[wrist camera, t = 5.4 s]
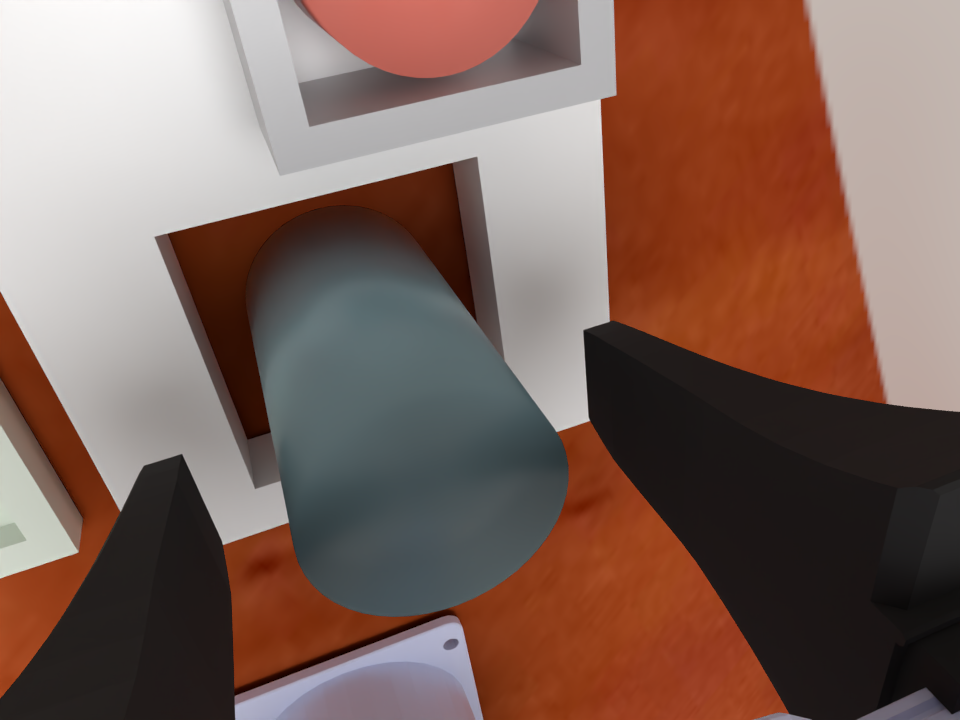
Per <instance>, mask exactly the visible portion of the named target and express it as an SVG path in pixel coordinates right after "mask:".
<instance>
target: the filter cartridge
mask: <svg viewBox="0 0 960 720" xmlns="http://www.w3.org/2000/svg"><path fill="white" fill-rule="evenodd" d="M245 300H246V309H247V314H248V319H249V324H250V329H251V334H252V339H253V344H254V349H255V354H256V359H257V364H258V369H259V374H260V379H261V385H262V390H263V395H264V400H265V405H266V410H267V415H268V420H269V425H270V430H271V435H272V440H273V445H274V450H275V455H276V460H277V465H278V470H279V475H280V480H281V485H282V490H283V495H284V500H285V505H286V510H287V515H288V520H289V525H290V530H291V535H292V540H293V545H294V550H295V553H296V557H297V560H298V563H299V565H300V567H301V569H302V571H303V573H304V574H305V576H306V577H307V578H308V580H309V581H310V582H311V584H312V585H313V586H314V587H315V588H316V589H317V590H318V591H319V592H321V593H322V594H323V595H324V596H326V597H327V598H329V599H330V600H332V601H333V602H335V603H337V604H339V605H341V606H343V607H346V608H348V609H351V610H354V611H357V612H361V613H365V614H371V615H376V616H390V617H399V616H414V615H421V614H427V613H432V612H436V611H440V610H444V609H447V608H450V607H453V606H456V605H459V604H461V603H464V602H466V601H468V600H471V599H473V598H475V597H477V596H479V595H481V594H483V593H485V592H487V591H488V590H490V589H492V588H493V587H495V586H496V585H498V584H500V583H501V582H503V581H504V580H505V579H507V578H508V577H509V576H511V575H512V574H513V573H514V572H516V571H517V570H518V569H519V568H520V567H521V566H522V565H523V564H525V563H526V562H527V561H528V560H529V559H530V558H531V557H532V555H533V554H534V553H535V552H536V551H537V550H538V549H539V548H540V546H541V545H542V544H543V542H544V541H545V539H546V538H547V537H548V535H549V534H550V532H551V530H552V529H553V527H554V525H555V523H556V522H557V519H558V517H559V515H560V512H561V510H562V508H563V504H564V501H565V497H566V494H567V487H568V462H567V456H566V452H565V449H564V446H563V443H562V441H561V439H560V437H559V436H558V434H557V432H556V430H555V429H554V427H553V426H552V425H551V423H550V422H549V421H548V419H547V418H546V416H545V415H544V414H543V412H542V411H541V410H540V408H539V407H538V406H537V404H536V403H535V402H534V400H533V399H532V397H531V396H530V395H529V393H528V392H527V391H526V389H525V388H524V387H523V385H522V384H521V382H520V381H519V380H518V378H517V377H516V376H515V374H514V373H513V372H512V370H511V369H510V368H509V366H508V365H507V363H506V362H505V361H504V359H503V358H502V357H501V355H500V354H499V353H498V351H497V350H496V349H495V347H494V346H493V344H492V343H491V342H490V340H489V339H488V338H487V336H486V335H485V334H484V332H483V331H482V329H481V328H480V327H479V325H478V324H477V323H476V321H475V320H474V319H473V317H472V316H471V315H470V313H469V312H468V310H467V309H466V308H465V306H464V305H463V304H462V302H461V301H460V300H459V298H458V297H457V296H456V294H455V293H454V291H453V290H452V289H451V287H450V286H449V285H448V283H447V282H446V281H445V279H444V278H443V276H442V275H441V274H440V272H439V271H438V270H437V268H436V267H435V266H434V264H433V263H432V262H431V260H430V259H429V257H428V256H427V255H426V253H425V252H424V251H423V249H422V248H421V247H420V245H419V244H418V243H417V241H416V240H415V239H414V237H413V236H412V235H411V234H410V233H409V232H408V231H407V230H406V229H405V228H404V227H403V226H402V225H401V224H399V223H398V222H396V221H395V220H393V219H392V218H390V217H388V216H386V215H384V214H382V213H380V212H377V211H374V210H371V209H368V208H363V207H358V206H345V205H344V206H330V207H325V208H319V209H316V210H313V211H310V212H306V213H304V214H302V215H300V216H298V217H296V218H294V219H292V220H291V221H289V222H287V223H286V224H284V225H283V226H282V227H280V228H279V229H278V230H277V231H276V232H274V233H273V234H272V235H271V236H270V237H269V239H268V240H267V241H266V242H265V243H264V244H263V246H262V247H261V249H260V250H259V251H258V253H257V255H256V257H255V259H254V261H253V263H252V265H251V268H250V271H249V274H248V278H247V283H246V294H245Z"/></svg>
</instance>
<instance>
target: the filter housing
mask: <svg viewBox="0 0 960 720" xmlns="http://www.w3.org/2000/svg"><path fill="white" fill-rule="evenodd" d="M615 95H616V68H615V34H614V1H613V0H539V1H538V3H537V5H536V6H535V8H534V10H533V12H532V13H531V15H530V17H529V18H528V20H527V21H526V23H525V24H524V25H523V27H522V28H521V29H520V31H519V32H518V33H517V34H516V35H515V36H514V37H513V38H512V40H511V41H510V42H509V43H508V44H507V45H506V46H504V47H503V48H502V49H501V50H500V51H498V52H497V53H496V54H495V55H494V56H492V57H490V58H489V59H487V60H486V61H484V62H482V63H481V64H479V65H477V66H475V67H472V68H470V69H468V70H466V71H463V72H460V73H456V74H453V75H450V76H443V77H436V78H414V77H407V76H400V75H397V74H393V73H390V72H386V71H384V70H381V69H379V68H377V67H374V66H372V65H370V64H368V63H367V62H365V61H363V60H362V59H360V58H358V57H357V56H355V55H354V54H352V53H351V52H350V51H349V50H347V49H346V48H345V47H344V46H343V45H341V44H340V43H339V42H338V41H336V40H335V39H334V38H333V37H332V36H330V35H329V34H328V33H327V32H326V31H324V30H323V29H322V28H321V27H319V26H318V25H317V24H316V23H315V22H313V21H312V20H311V19H310V18H309V17H308V16H307V15H306V14H305V13H304V12H303V11H302V10H301V9H300V8H299V7H298V6H297V4H296V3H295V2H294V0H0V292H1V294H2V295H3V297H4V299H5V301H6V303H7V305H8V306H9V308H10V310H11V312H12V314H13V316H14V317H15V319H16V321H17V323H18V325H19V327H20V328H21V330H22V332H23V334H24V336H25V338H26V339H27V341H28V343H29V345H30V347H31V349H32V350H33V352H34V354H35V356H36V358H37V360H38V361H39V363H40V365H41V367H42V369H43V371H44V372H45V374H46V376H47V378H48V380H49V382H50V383H51V385H52V387H53V389H54V391H55V392H56V394H57V396H58V398H59V400H60V402H61V403H62V405H63V407H64V409H65V411H66V413H67V414H68V416H69V418H70V420H71V422H72V424H73V425H74V427H75V429H76V431H77V433H78V435H79V436H80V438H81V440H82V442H83V444H84V446H85V447H86V449H87V451H88V453H89V455H90V457H91V458H92V460H93V462H94V464H95V466H96V468H97V469H98V471H99V473H100V475H101V477H102V479H103V480H104V482H105V484H106V486H107V488H108V490H109V491H110V493H111V495H112V497H113V499H114V501H115V502H116V504H117V506H118V508H119V510H120V512H121V510H122V508H123V506H124V504H125V502H126V500H127V498H128V496H129V493H130V491H131V489H132V487H133V485H134V483H135V481H136V479H137V477H138V475H139V473H140V471H141V470H142V468H143V466H144V465H148V464H151V463H154V462H157V461H161V460H164V459H167V458H170V457H174V456H177V455H180V454H182V455H183V457H184V459H185V461H186V463H187V466H188V468H189V470H190V472H191V474H192V477H193V479H194V481H195V483H196V485H197V487H198V490H199V492H200V494H201V496H202V498H203V501H204V503H205V505H206V507H207V509H208V511H209V514H210V516H211V518H212V520H213V522H214V525H215V527H216V529H217V531H218V533H219V536H220V538H221V540H222V544H223V545H224V544H227V543H230V542H233V541H236V540H239V539H242V538H245V537H248V536H251V535H254V534H257V533H259V532H262V531H265V530H268V529H271V528H274V527H277V526H280V525H283V524H286V523H289V520H288V515H287V510H286V505H285V500H284V495H283V490H282V485H281V480H280V475H279V470H278V465H277V460H276V455H275V450H274V445H273V440H272V435H271V433H268V434H264V435H261V436H258V437H255V438H252V439H248V440H247V437H246V434H245V432H244V429H243V427H242V424H241V422H240V419H239V416H238V414H237V411H236V409H235V406H234V404H233V401H232V398H231V396H230V393H229V391H228V388H227V386H226V383H225V380H224V378H223V375H222V373H221V370H220V368H219V365H218V362H217V360H216V357H215V355H214V352H213V350H212V347H211V344H210V342H209V339H208V337H207V334H206V331H205V329H204V326H203V324H202V321H201V319H200V316H199V313H198V311H197V308H196V306H195V303H194V301H193V298H192V295H191V293H190V290H189V288H188V285H187V283H186V280H185V277H184V275H183V272H182V270H181V267H180V265H179V262H178V259H177V257H176V254H175V252H174V249H173V247H172V244H171V241H170V239H169V236H168V234H167V233H171V232H175V231H179V230H183V229H187V228H191V227H195V226H199V225H203V224H207V223H212V222H216V221H220V220H224V219H228V218H232V217H236V216H240V215H244V214H248V213H252V212H256V211H260V210H264V209H268V208H272V207H276V206H280V205H284V204H288V203H292V202H296V201H300V200H304V199H308V198H312V197H316V196H320V195H324V194H328V193H332V192H336V191H340V190H344V189H348V188H353V187H357V186H361V185H365V184H369V183H373V182H377V181H381V180H385V179H389V178H393V177H397V176H401V175H405V174H409V173H413V172H417V171H421V170H425V169H429V168H433V167H437V166H441V165H445V164H449V163H453V170H454V176H455V183H456V189H457V196H458V202H459V208H460V215H461V221H462V228H463V234H464V241H465V247H466V254H467V260H468V267H469V273H470V280H471V286H472V293H473V299H474V306H475V312H476V319H477V324H478V325H479V327H480V328H481V329H482V331H483V332H484V334H485V335H486V336H487V338H488V339H489V340H490V342H491V343H492V344H493V346H494V347H495V349H496V350H497V351H498V353H499V354H500V355H501V357H502V358H503V359H504V361H505V362H506V363H507V365H508V366H509V368H510V369H511V370H512V372H513V373H514V374H515V376H516V377H517V378H518V380H519V381H520V382H521V384H522V385H523V387H524V388H525V389H526V391H527V392H528V393H529V395H530V396H531V397H532V399H533V400H534V402H535V403H536V404H537V406H538V407H539V408H540V410H541V411H542V412H543V414H544V415H545V416H546V418H547V419H548V421H549V422H550V423H551V425H552V426H553V427H554V429H555V430H556V432H558V431H561V430H564V429H567V428H570V427H573V426H576V425H579V424H582V423H585V422H588V421H590V419H589V416H588V400H587V384H586V368H585V352H584V336H583V330H585V329H588V328H591V327H594V326H598V325H601V324H604V323H607V322H610V319H609V295H608V271H607V247H606V223H605V199H604V175H603V151H602V127H601V103H600V99H603V98H607V97H611V96H615Z"/></svg>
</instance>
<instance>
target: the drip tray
mask: <svg viewBox="0 0 960 720" xmlns="http://www.w3.org/2000/svg"><path fill="white" fill-rule="evenodd" d="M82 523H83V518H82V516H81V515H80V513H79V511H78V509H77V508H76V506H75V504H74V503H73V501H72V499H71V498H70V496H69V494H68V492H67V491H66V489H65V487H64V486H63V484H62V482H61V481H60V479H59V477H58V475H57V474H56V472H55V470H54V469H53V467H52V465H51V464H50V462H49V460H48V458H47V457H46V455H45V453H44V452H43V450H42V448H41V447H40V445H39V443H38V441H37V440H36V438H35V436H34V435H33V433H32V431H31V429H30V428H29V426H28V424H27V423H26V421H25V419H24V418H23V416H22V414H21V412H20V411H19V409H18V407H17V406H16V404H15V402H14V401H13V399H12V397H11V395H10V394H9V392H8V390H7V389H6V387H5V385H4V384H3V382H2V380H1V378H0V578H2V577H5V576H8V575H11V574H14V573H18V572H21V571H24V570H27V569H30V568H33V567H36V566H39V565H42V564H45V563H48V562H51V561H54V560H57V559H60V558H63V557H66V556H69V555H73V554H76V553H79V546H80V538H81V530H82Z"/></svg>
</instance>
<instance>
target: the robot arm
mask: <svg viewBox="0 0 960 720" xmlns="http://www.w3.org/2000/svg"><path fill="white" fill-rule="evenodd" d="M583 336H584V352H585V368H586V384H587V400H588V416H589V419H590V421H591V423H592V424H593V426H594V428H595V430H596V431H597V433H598V435H599V436H600V438H601V440H602V442H603V443H604V445H605V446H606V448H607V450H608V451H609V453H610V454H611V456H612V457H613V459H614V460H615V462H616V463H617V464H618V466H619V467H620V468H621V469H622V471H623V472H624V473H625V474H626V475H627V477H628V478H629V479H630V480H631V482H632V483H633V484H634V485H635V487H636V488H637V489H638V490H639V492H640V493H641V494H642V495H643V496H644V498H645V499H646V500H647V501H648V502H649V504H650V505H651V506H652V507H653V508H654V510H655V511H656V512H657V513H658V514H659V516H660V517H661V518H662V519H663V521H664V522H665V523H666V524H667V525H668V527H669V528H670V529H671V530H672V531H673V533H674V534H675V535H676V536H677V538H678V539H679V540H680V541H681V542H682V544H683V545H684V546H685V548H686V549H687V550H688V552H689V553H690V554H691V556H692V557H693V558H694V560H695V561H696V562H697V564H698V565H699V567H700V568H701V570H702V571H703V573H704V574H705V576H706V577H707V579H708V580H709V582H710V583H711V585H712V586H713V588H714V589H715V591H716V593H717V594H718V596H719V597H720V599H721V600H722V602H723V603H724V605H725V606H726V608H727V610H728V611H729V613H730V614H731V616H732V618H733V619H734V621H735V622H736V624H737V626H738V627H739V629H740V631H741V632H742V634H743V635H744V637H745V639H746V640H747V642H748V643H749V645H750V647H751V648H752V650H753V652H754V653H755V655H756V657H757V658H758V660H759V662H760V664H761V665H762V667H763V669H764V670H765V672H766V674H767V676H768V677H769V679H770V681H771V682H772V684H773V686H774V688H775V689H776V691H777V693H778V695H779V696H780V698H781V700H782V701H783V703H784V705H785V707H786V709H787V710H788V712H789V714H785V713H775V714H772V715H768V716H765V717H761V718H758V719H754V720H960V412H953V411H942V410H932V409H922V408H913V407H904V406H897V405H889V404H882V403H876V402H870V401H864V400H859V399H853V398H847V397H841V396H837V395H832V394H827V393H822V392H818V391H814V390H810V389H806V388H802V387H798V386H794V385H790V384H786V383H782V382H779V381H775V380H772V379H768V378H765V377H762V376H759V375H756V374H753V373H750V372H747V371H743V370H740V369H737V368H734V367H731V366H729V365H726V364H723V363H720V362H718V361H715V360H712V359H710V358H707V357H704V356H702V355H699V354H697V353H694V352H691V351H689V350H686V349H684V348H681V347H679V346H677V345H674V344H672V343H669V342H667V341H664V340H662V339H659V338H657V337H655V336H652V335H650V334H647V333H645V332H642V331H640V330H637V329H635V328H632V327H630V326H627V325H624V324H622V323H619V322H616V321H610V322H607V323H604V324H601V325H598V326H594V327H591V328H588V329H585V330H583ZM0 720H483V716H482V712H481V707H480V703H479V698H478V694H477V689H476V685H475V681H474V676H473V672H472V667H471V663H470V658H469V654H468V649H467V645H466V641H465V636H464V632H463V628H462V625H461V623H460V620H459V619H458V618H457V617H456V616H450V615H447V616H443V617H440V618H438V619H435V620H433V621H430V622H427V623H425V624H422V625H419V626H417V627H414V628H412V629H409V630H406V631H404V632H401V633H399V634H396V635H393V636H391V637H388V638H385V639H383V640H380V641H378V642H375V643H372V644H370V645H367V646H364V647H362V648H359V649H357V650H354V651H351V652H349V653H346V654H343V655H341V656H338V657H336V658H333V659H330V660H328V661H325V662H322V663H320V664H317V665H315V666H312V667H309V668H307V669H304V670H301V671H299V672H296V673H294V674H291V675H288V676H286V677H283V678H280V679H278V680H275V681H273V682H270V683H267V684H265V685H262V686H259V687H257V688H254V689H252V690H249V691H246V692H244V693H241V694H238V695H236V696H235V695H234V662H233V631H232V604H231V591H230V585H229V578H228V572H227V566H226V560H225V555H224V549H223V544H222V540H221V538H220V536H219V533H218V531H217V529H216V527H215V525H214V522H213V520H212V518H211V516H210V514H209V511H208V509H207V507H206V505H205V503H204V501H203V498H202V496H201V494H200V492H199V490H198V487H197V485H196V483H195V481H194V479H193V477H192V474H191V472H190V470H189V468H188V466H187V463H186V461H185V459H184V457H183V455H182V454H180V455H177V456H174V457H170V458H167V459H164V460H161V461H157V462H154V463H151V464H148V465H144V466H143V468H142V470H141V471H140V473H139V475H138V477H137V479H136V481H135V483H134V485H133V487H132V489H131V491H130V493H129V496H128V498H127V500H126V502H125V504H124V506H123V508H122V510H121V512H120V514H119V516H118V518H117V520H116V522H115V524H114V526H113V528H112V530H111V532H110V534H109V536H108V538H107V540H106V542H105V543H104V545H103V547H102V549H101V551H100V553H99V555H98V557H97V558H96V560H95V562H94V564H93V566H92V568H91V569H90V571H89V573H88V575H87V576H86V578H85V580H84V581H83V583H82V585H81V586H80V588H79V590H78V591H77V593H76V594H75V596H74V598H73V599H72V601H71V603H70V604H69V606H68V608H67V609H66V611H65V613H64V614H63V616H62V617H61V619H60V620H59V622H58V623H57V625H56V626H55V628H54V629H53V631H52V632H51V634H50V635H49V637H48V638H47V640H46V641H45V642H44V644H43V645H42V646H41V648H40V649H39V650H38V652H37V653H36V655H35V656H34V657H33V659H32V660H31V661H30V663H29V664H28V665H27V667H26V668H25V669H24V671H23V672H22V673H21V674H20V676H19V677H18V678H17V679H16V681H15V682H14V683H13V684H12V685H11V687H10V688H9V689H8V690H7V691H6V692H5V694H4V695H3V696H2V697H1V698H0Z"/></svg>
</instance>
